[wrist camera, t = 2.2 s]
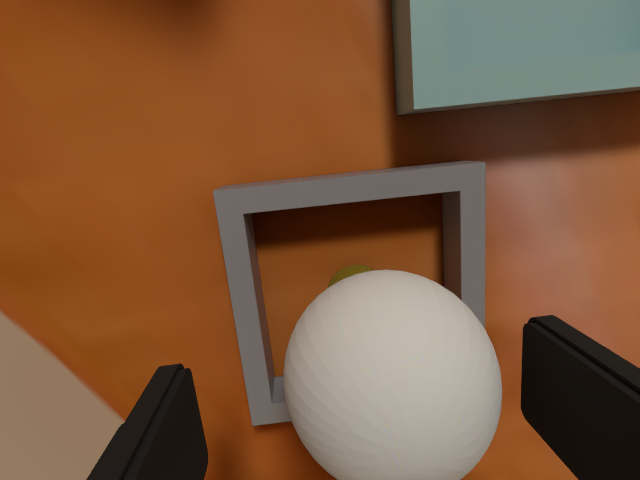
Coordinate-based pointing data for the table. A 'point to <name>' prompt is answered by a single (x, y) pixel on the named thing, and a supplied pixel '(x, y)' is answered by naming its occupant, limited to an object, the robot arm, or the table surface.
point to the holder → (243, 199)
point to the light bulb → (392, 379)
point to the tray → (511, 51)
